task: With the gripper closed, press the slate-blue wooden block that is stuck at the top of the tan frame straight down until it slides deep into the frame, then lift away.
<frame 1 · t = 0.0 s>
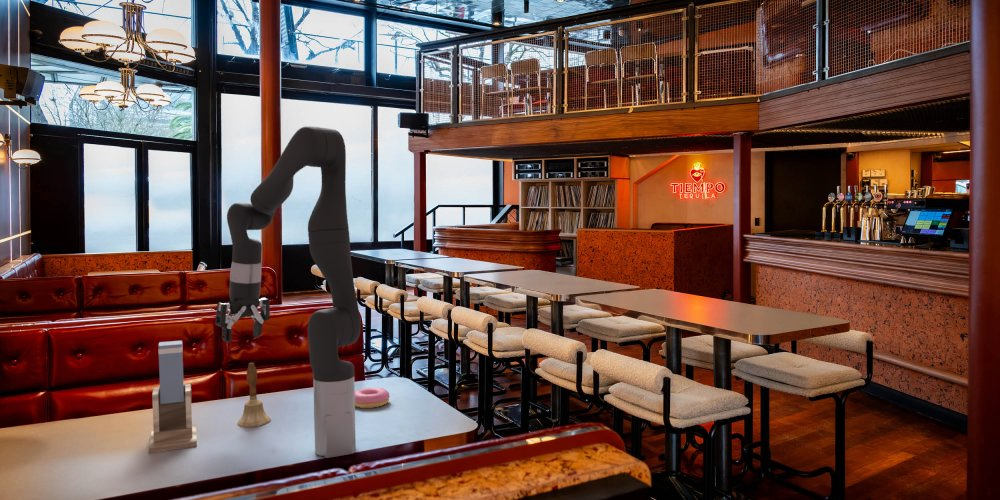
hand: (242, 339, 168), 22 cm above the table, tool pointing down, fingers open, 8 cm apart
doughnut: (370, 405, 186), on the table
tan frame: (173, 440, 156), on the table
jammed block: (171, 371, 155), point 17 cm above the table, slide at 0.0 cm
hand bell: (254, 422, 170), on the table
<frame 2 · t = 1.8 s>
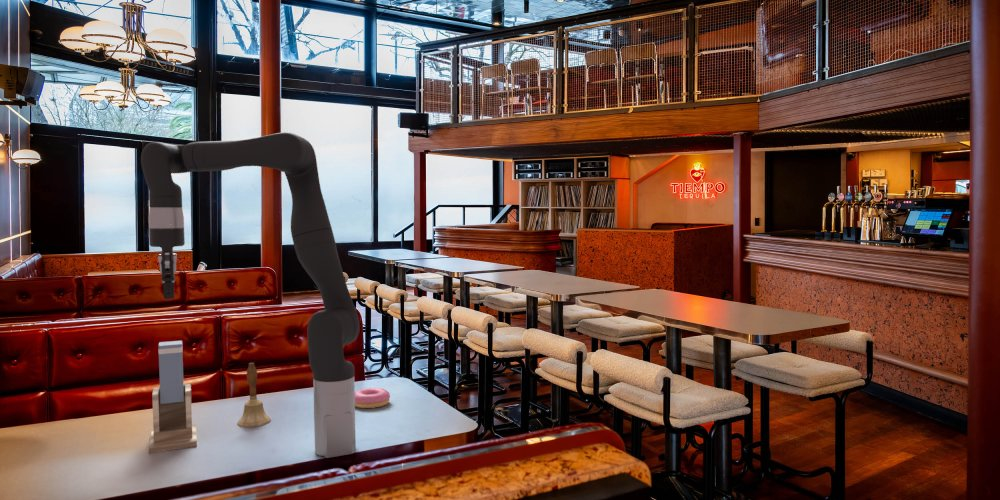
hand: (169, 298, 154), 35 cm above the table, tool pointing down, fingers closed
nothing on the table moved.
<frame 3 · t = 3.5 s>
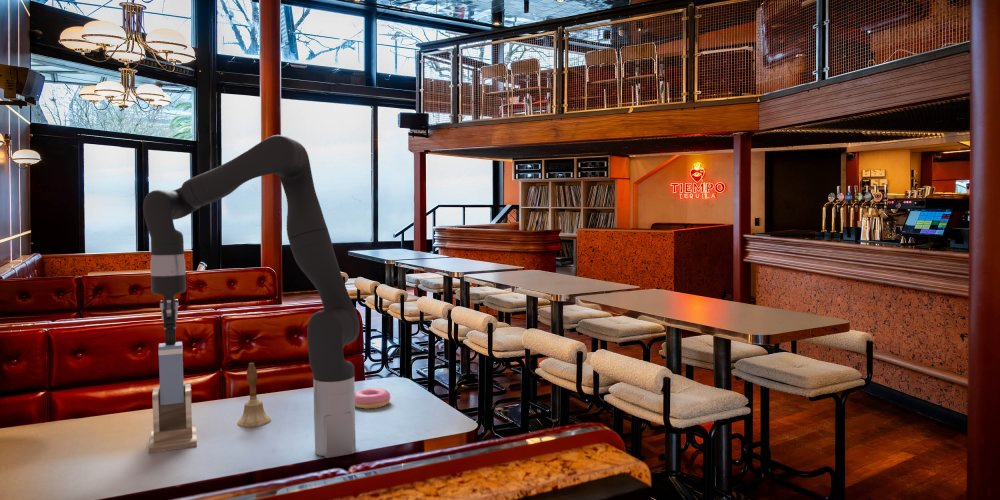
hand: (170, 344, 155), 24 cm above the table, tool pointing down, fingers closed
jammed block: (171, 372, 155), point 17 cm above the table, slide at 0.3 cm, touching gripper
everything else where it was.
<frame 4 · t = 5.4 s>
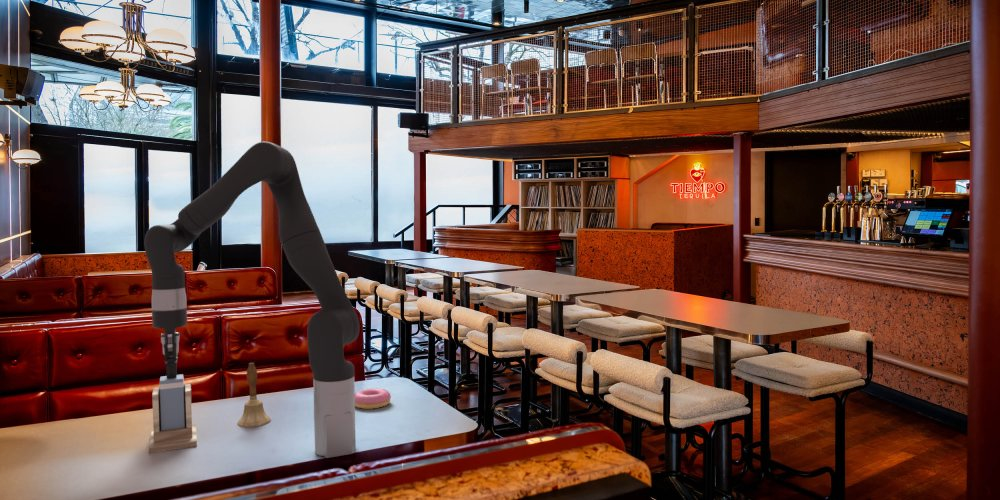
hand: (171, 377, 155), 16 cm above the table, tool pointing down, fingers closed
jammed block: (172, 405, 156), point 9 cm above the table, slide at 8.5 cm, touching gripper
everything else where it was.
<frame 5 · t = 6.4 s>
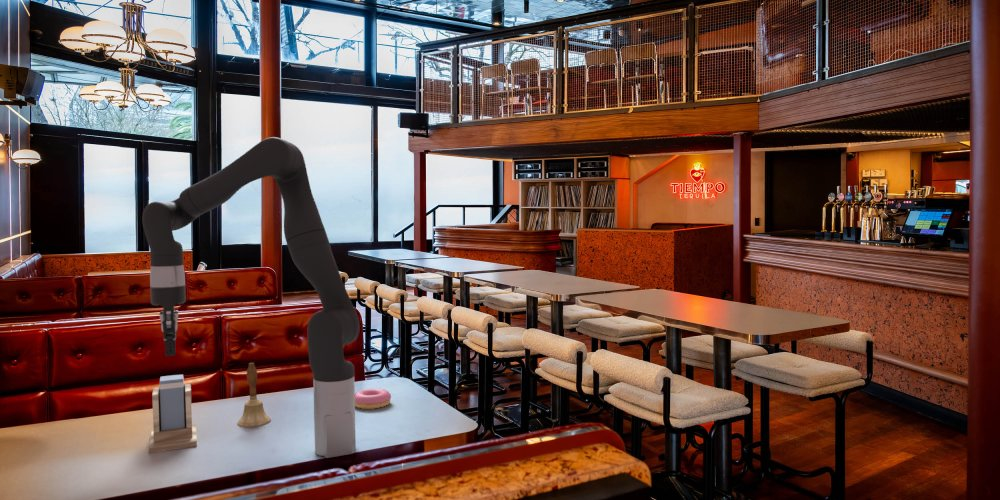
hand: (170, 355, 155), 21 cm above the table, tool pointing down, fingers closed
jammed block: (172, 406, 156), point 9 cm above the table, slide at 8.5 cm
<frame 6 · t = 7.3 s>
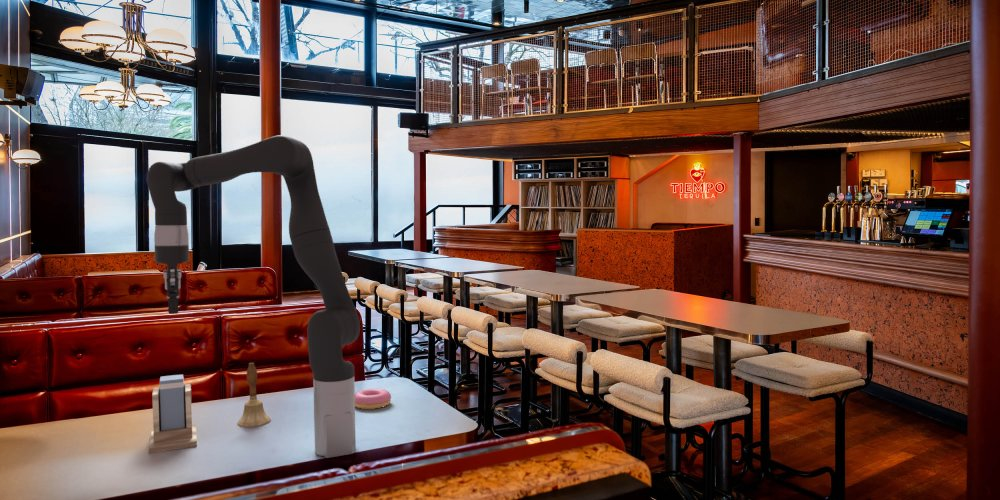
hand: (173, 313, 159), 31 cm above the table, tool pointing down, fingers closed
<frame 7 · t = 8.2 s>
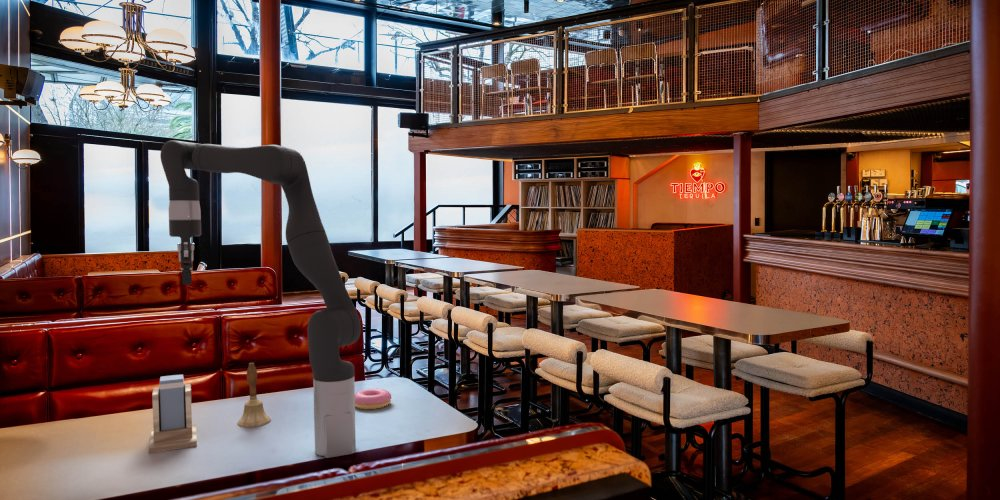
hand: (187, 284, 168), 37 cm above the table, tool pointing down, fingers closed
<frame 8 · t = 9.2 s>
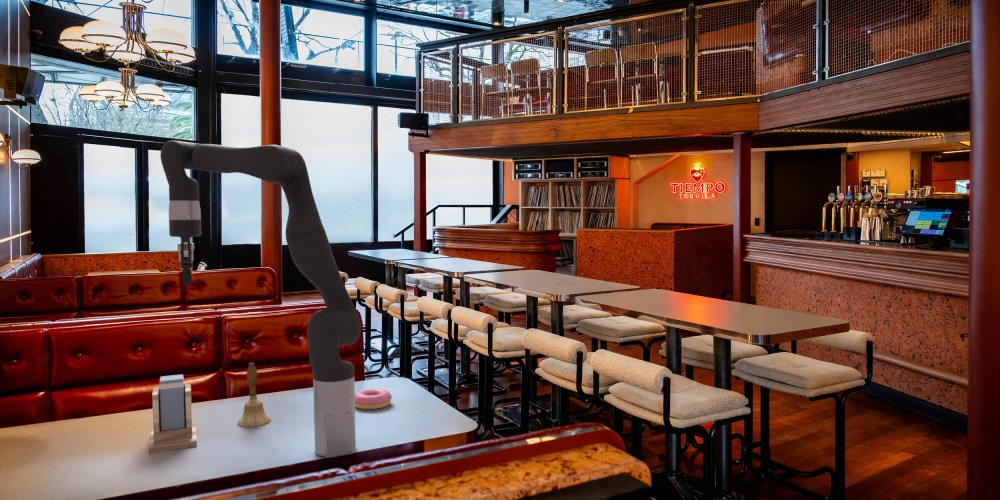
hand: (187, 284, 168), 37 cm above the table, tool pointing down, fingers closed
at the end: jammed block slide at 8.5 cm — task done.
